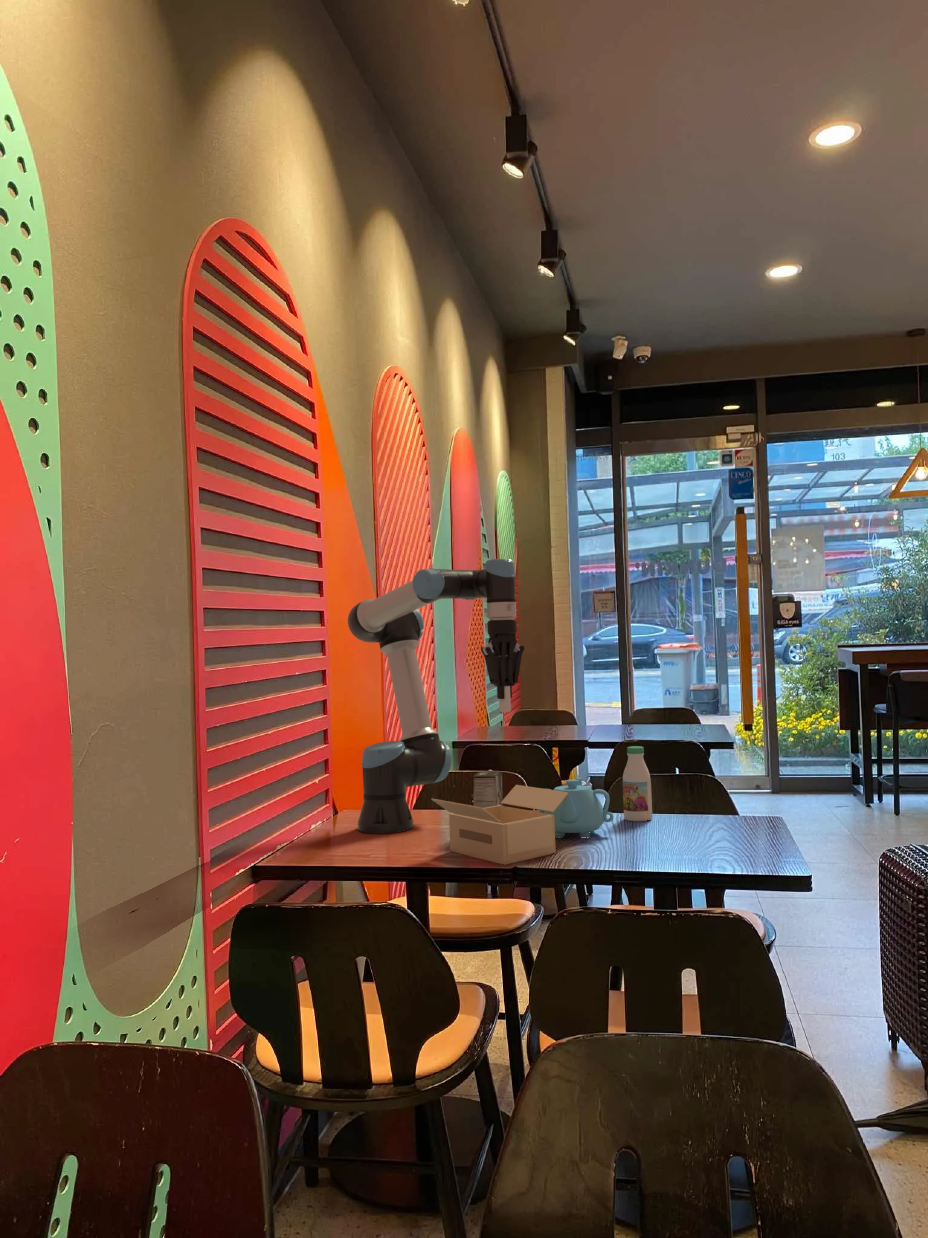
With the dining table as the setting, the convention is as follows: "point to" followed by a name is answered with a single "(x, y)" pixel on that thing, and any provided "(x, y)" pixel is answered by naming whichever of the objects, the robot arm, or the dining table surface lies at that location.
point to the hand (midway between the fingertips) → (505, 711)
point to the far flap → (535, 798)
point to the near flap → (466, 810)
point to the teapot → (580, 809)
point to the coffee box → (487, 789)
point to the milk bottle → (636, 787)
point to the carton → (503, 835)
